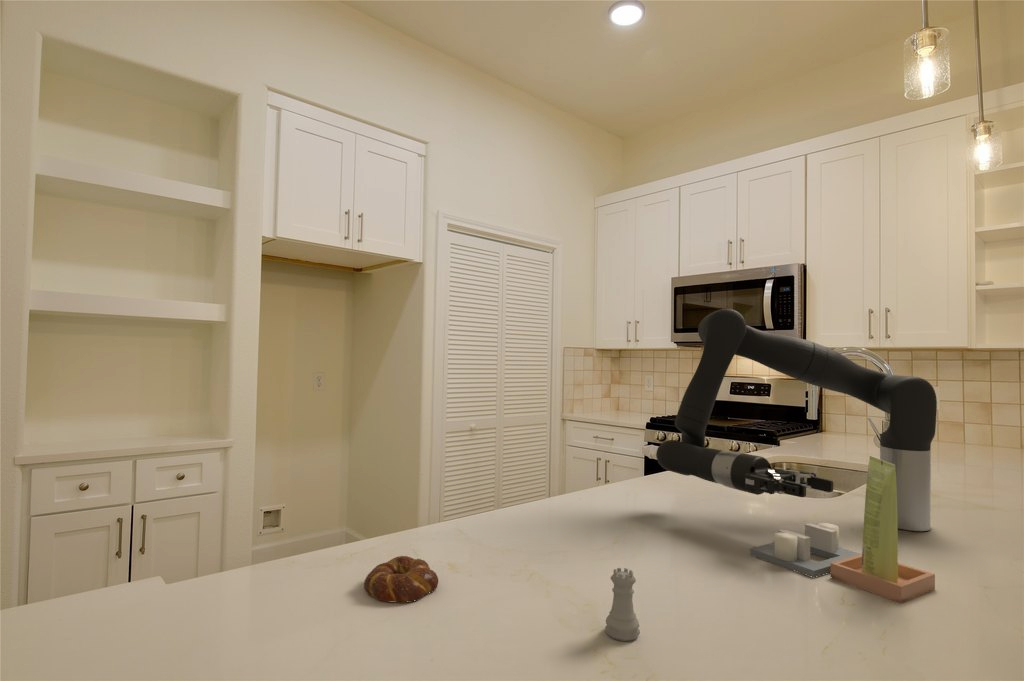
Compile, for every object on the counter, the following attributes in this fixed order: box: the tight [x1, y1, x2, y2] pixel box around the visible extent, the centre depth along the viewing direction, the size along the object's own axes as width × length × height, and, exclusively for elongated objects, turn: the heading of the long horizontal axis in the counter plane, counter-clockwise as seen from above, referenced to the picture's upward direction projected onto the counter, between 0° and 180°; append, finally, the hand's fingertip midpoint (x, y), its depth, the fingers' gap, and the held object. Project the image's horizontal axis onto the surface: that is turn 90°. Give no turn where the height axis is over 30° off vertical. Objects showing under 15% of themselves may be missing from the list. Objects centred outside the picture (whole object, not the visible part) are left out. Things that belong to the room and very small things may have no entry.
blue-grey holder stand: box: [749, 522, 861, 578], centre depth 101 cm, size 17×12×5 cm
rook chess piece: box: [604, 567, 641, 642], centre depth 72 cm, size 4×4×8 cm
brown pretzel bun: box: [363, 555, 439, 603], centre depth 84 cm, size 12×11×4 cm
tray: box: [830, 553, 936, 604], centre depth 90 cm, size 11×11×2 cm
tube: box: [861, 455, 899, 583], centre depth 90 cm, size 6×5×20 cm
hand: (819, 489), depth 99 cm, fingers open, 8 cm apart
